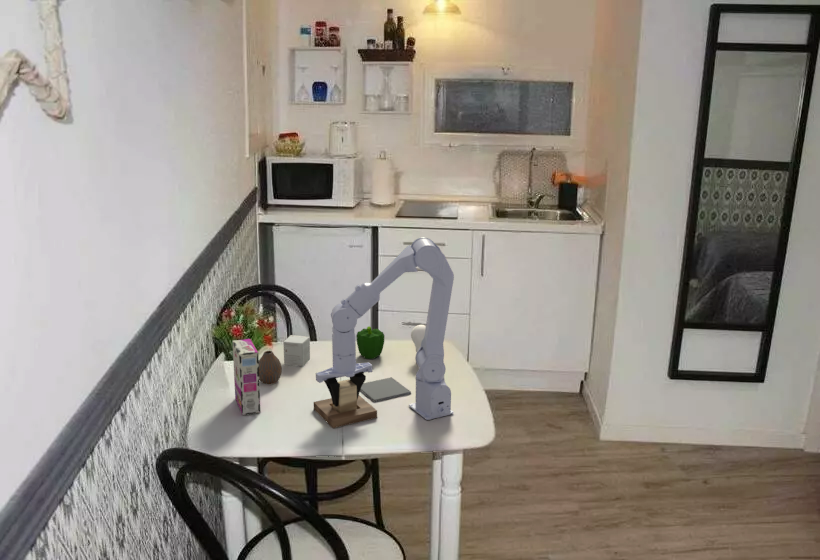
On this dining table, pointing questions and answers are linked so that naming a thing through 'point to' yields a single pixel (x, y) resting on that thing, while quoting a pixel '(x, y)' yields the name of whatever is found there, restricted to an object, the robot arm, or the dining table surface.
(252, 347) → the candy bar box
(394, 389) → the mat
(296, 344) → the product box
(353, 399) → the peg
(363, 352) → the bell pepper
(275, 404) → the dining table surface
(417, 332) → the lightbulb
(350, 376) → the robot arm
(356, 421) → the holder
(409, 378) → the dining table surface
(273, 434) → the dining table surface
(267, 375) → the vase
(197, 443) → the dining table surface
